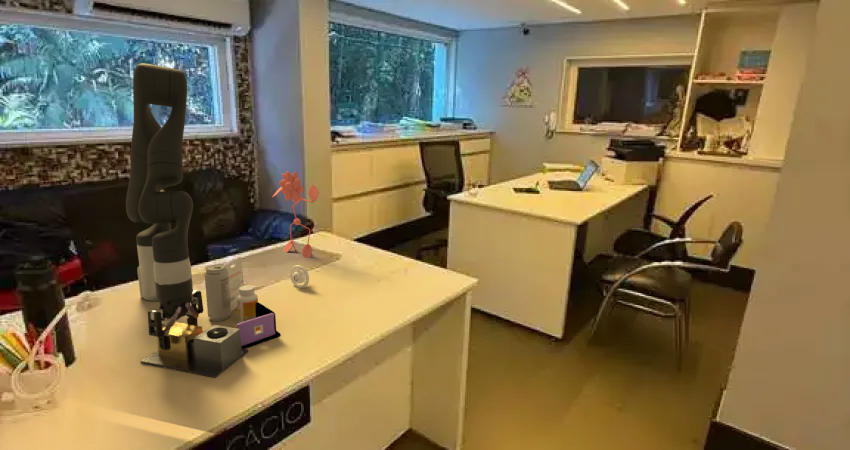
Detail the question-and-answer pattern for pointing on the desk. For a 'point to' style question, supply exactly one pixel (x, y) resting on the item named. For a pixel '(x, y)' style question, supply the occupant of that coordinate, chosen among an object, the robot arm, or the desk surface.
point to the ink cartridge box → (235, 280)
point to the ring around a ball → (299, 276)
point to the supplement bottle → (246, 303)
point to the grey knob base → (205, 353)
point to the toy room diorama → (258, 327)
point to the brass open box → (180, 340)
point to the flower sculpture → (293, 191)
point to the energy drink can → (217, 292)
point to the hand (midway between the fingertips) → (179, 340)
